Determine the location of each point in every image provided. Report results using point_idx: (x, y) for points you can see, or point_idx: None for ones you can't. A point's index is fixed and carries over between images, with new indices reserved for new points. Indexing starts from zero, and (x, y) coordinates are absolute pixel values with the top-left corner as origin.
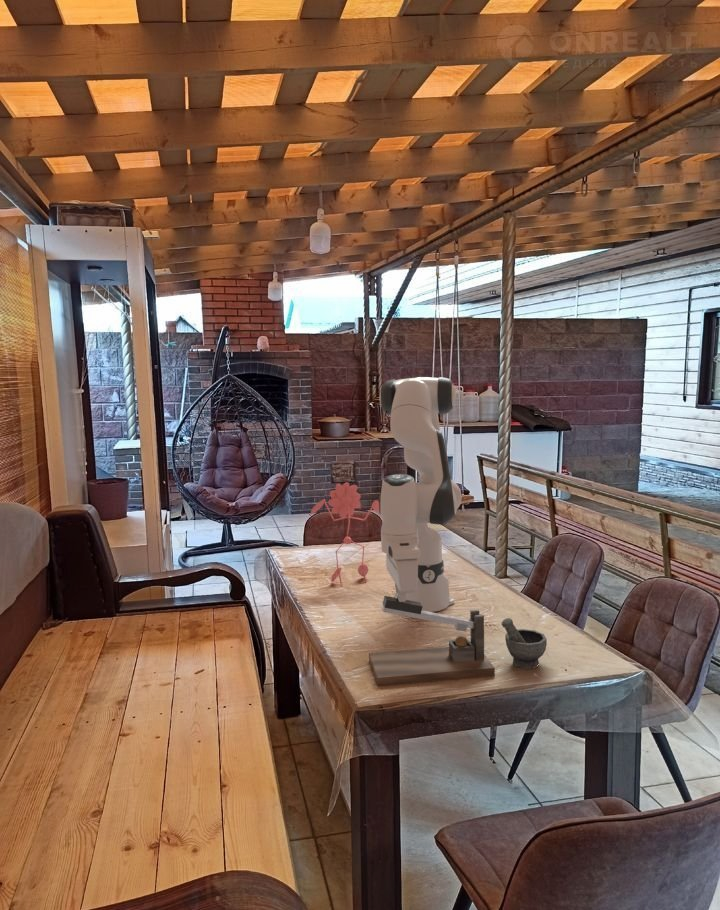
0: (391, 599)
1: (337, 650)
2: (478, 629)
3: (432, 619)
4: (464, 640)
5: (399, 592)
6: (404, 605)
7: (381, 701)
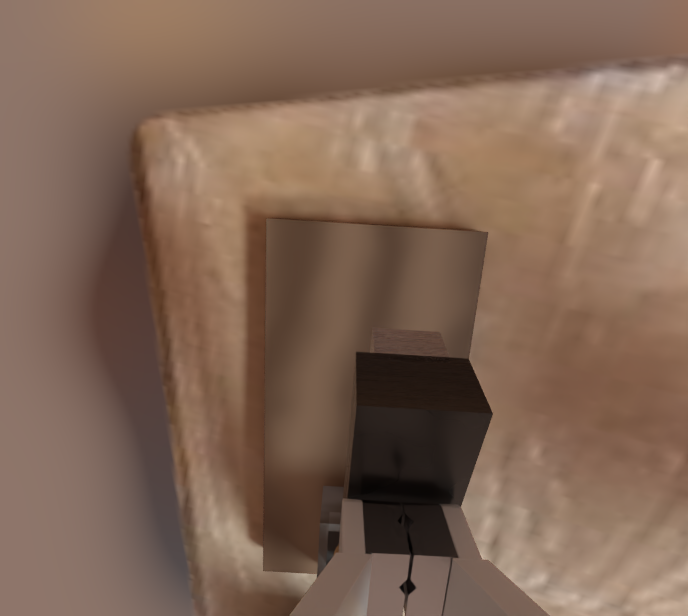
0: (391, 451)
1: (618, 122)
2: None
3: None
4: None
5: (313, 590)
6: None
7: (166, 206)
